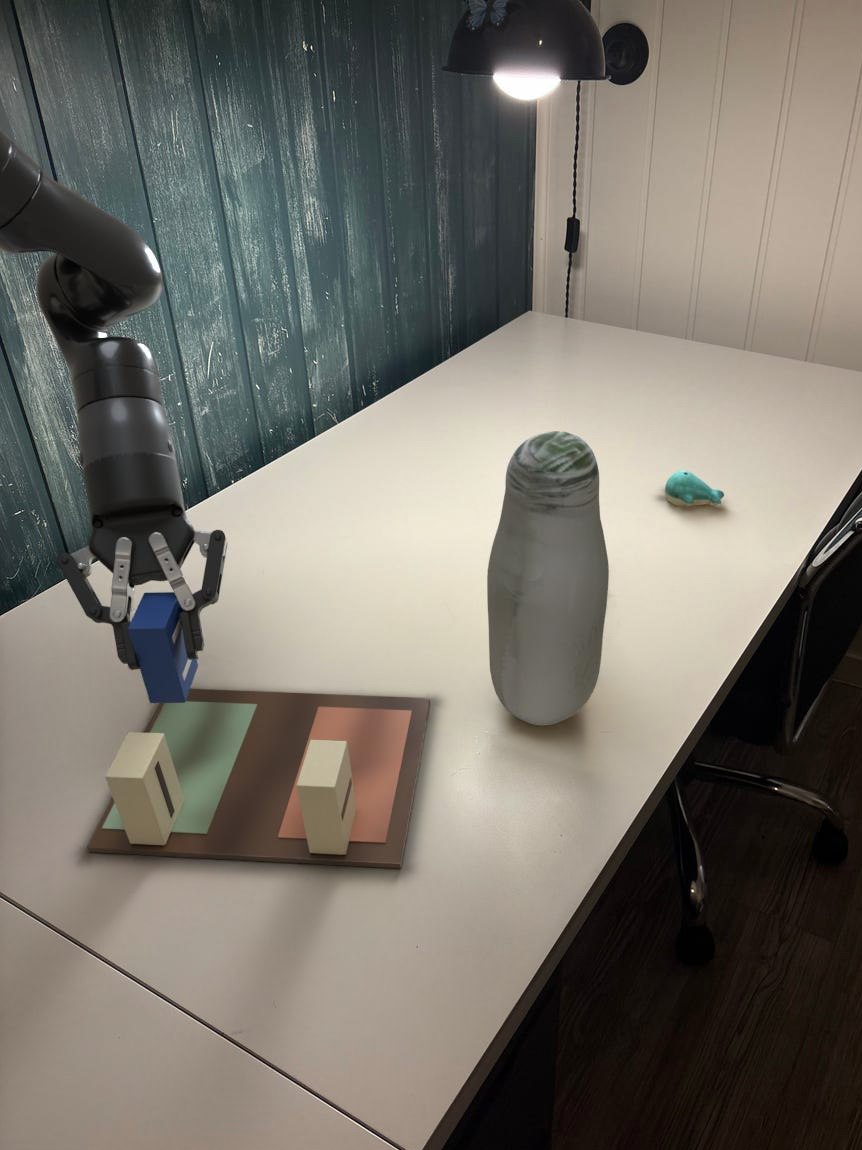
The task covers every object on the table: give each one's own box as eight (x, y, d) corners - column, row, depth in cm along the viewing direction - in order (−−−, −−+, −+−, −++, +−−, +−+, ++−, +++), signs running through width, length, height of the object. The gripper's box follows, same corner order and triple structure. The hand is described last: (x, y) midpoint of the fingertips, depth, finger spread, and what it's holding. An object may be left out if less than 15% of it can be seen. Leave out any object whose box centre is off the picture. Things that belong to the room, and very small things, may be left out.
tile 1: (129, 844, 78) (103, 776, 73) (150, 798, 82) (127, 731, 77) (166, 846, 78) (142, 778, 73) (185, 800, 82) (164, 732, 77)
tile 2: (308, 853, 77) (295, 785, 72) (321, 806, 81) (309, 739, 76) (346, 855, 77) (335, 787, 72) (357, 808, 80) (347, 740, 76)
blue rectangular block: (149, 703, 80) (126, 628, 75) (164, 666, 84) (143, 592, 79) (186, 703, 80) (165, 627, 75) (199, 665, 84) (180, 591, 79)
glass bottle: (570, 757, 86) (586, 482, 68) (472, 720, 90) (464, 452, 72) (613, 693, 93) (637, 428, 75) (519, 662, 97) (522, 403, 79)
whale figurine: (671, 485, 124) (674, 459, 122) (726, 496, 122) (731, 470, 120) (658, 506, 120) (661, 479, 118) (715, 518, 118) (719, 491, 115)
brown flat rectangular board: (88, 852, 78) (86, 846, 78) (169, 692, 94) (168, 686, 93) (400, 868, 76) (400, 863, 76) (430, 702, 92) (429, 697, 92)
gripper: (220, 467, 85) (253, 653, 83) (52, 489, 82) (83, 683, 80) (212, 437, 78) (248, 642, 76) (28, 461, 75) (61, 674, 73)
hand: (163, 662), depth 78 cm, fingers closed on blue rectangular block, 4 cm apart
